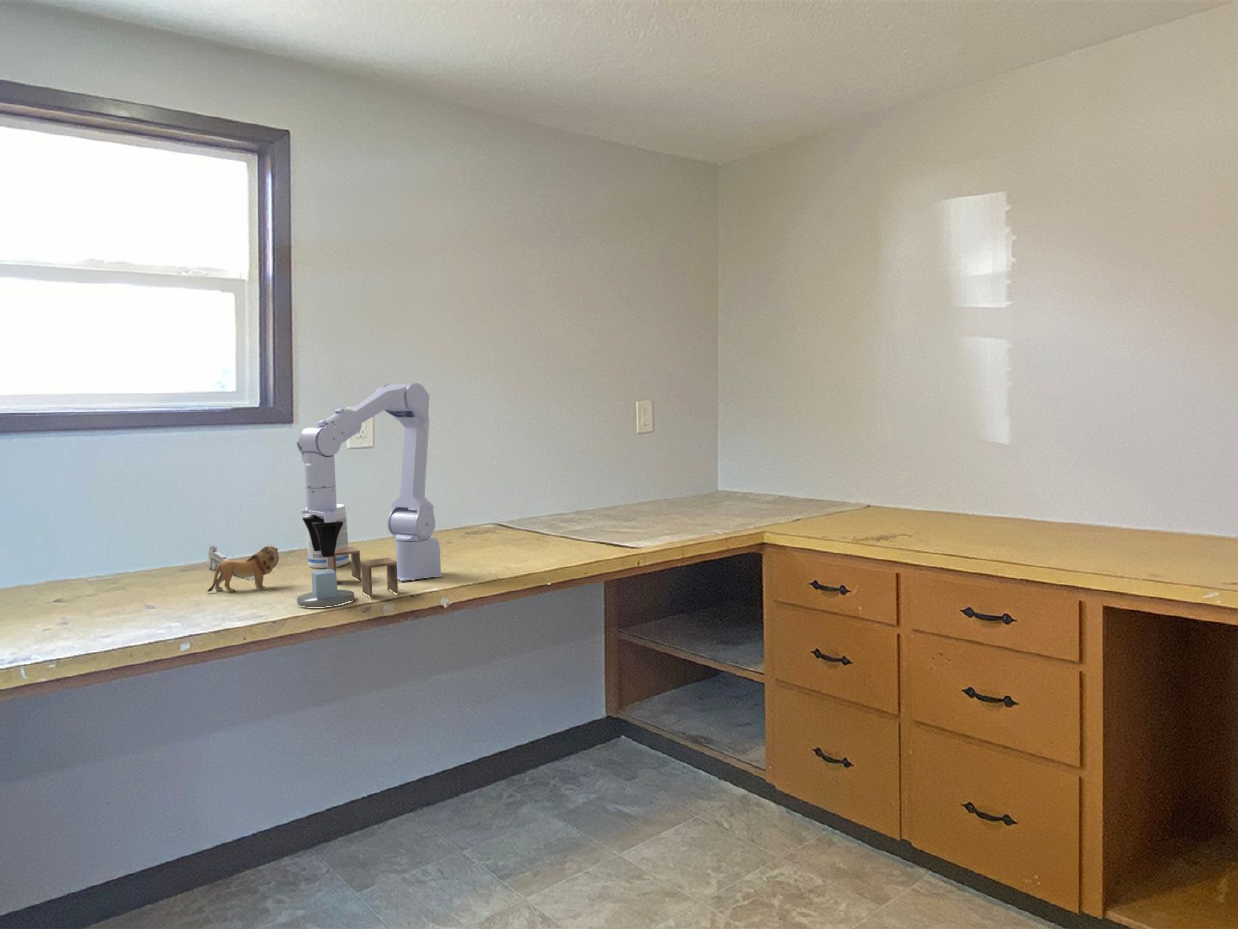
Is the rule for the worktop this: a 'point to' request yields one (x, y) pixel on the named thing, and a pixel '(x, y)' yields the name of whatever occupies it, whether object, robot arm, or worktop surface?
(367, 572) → the brown wooden stool
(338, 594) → the dish
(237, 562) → the lion figurine
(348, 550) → the brown wooden arch
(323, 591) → the block
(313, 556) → the supplement tub
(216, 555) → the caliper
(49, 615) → the worktop surface
